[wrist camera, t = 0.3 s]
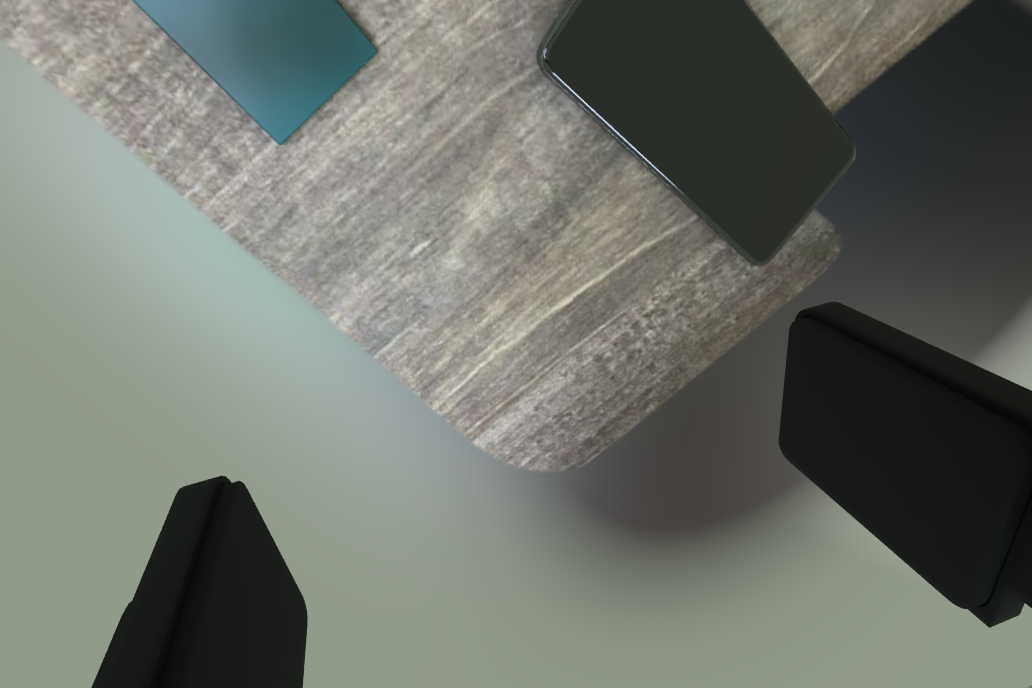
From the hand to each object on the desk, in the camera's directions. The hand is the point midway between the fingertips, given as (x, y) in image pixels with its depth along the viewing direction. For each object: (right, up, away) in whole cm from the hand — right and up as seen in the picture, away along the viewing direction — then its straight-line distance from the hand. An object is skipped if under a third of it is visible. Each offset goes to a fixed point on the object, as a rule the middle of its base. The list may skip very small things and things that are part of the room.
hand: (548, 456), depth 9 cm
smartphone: (+8, +12, +15) cm, 21 cm away
